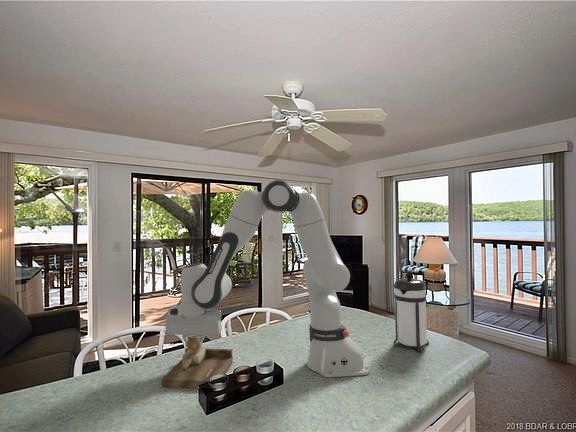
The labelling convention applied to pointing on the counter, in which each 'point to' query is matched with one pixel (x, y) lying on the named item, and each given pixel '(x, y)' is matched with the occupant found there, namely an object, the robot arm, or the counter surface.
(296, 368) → the counter surface
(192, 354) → the marking slider
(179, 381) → the walnut board
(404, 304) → the coffee press
